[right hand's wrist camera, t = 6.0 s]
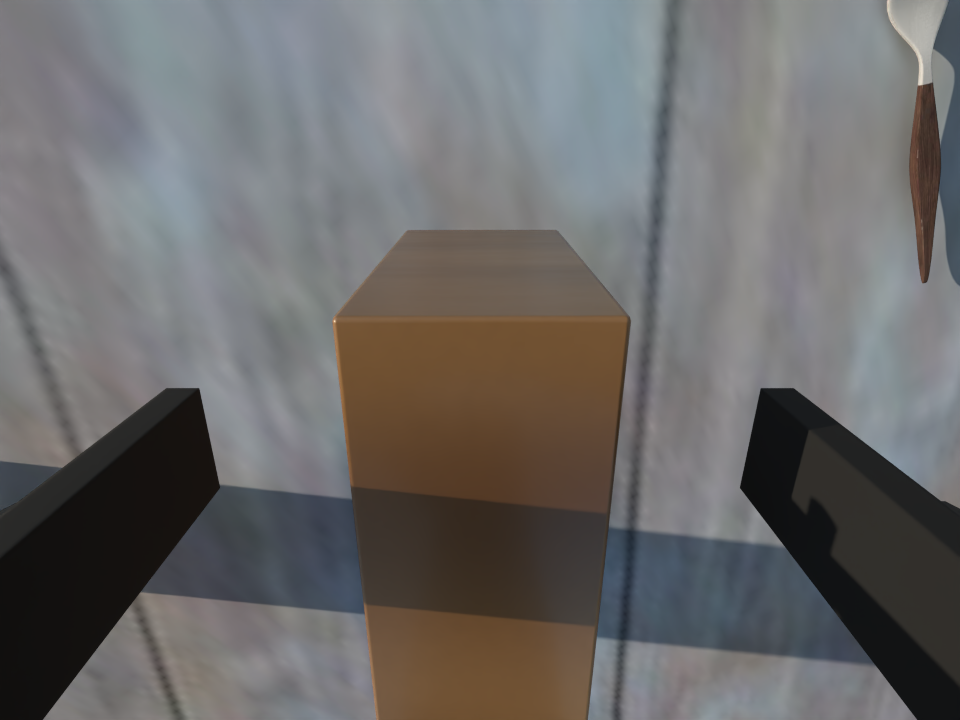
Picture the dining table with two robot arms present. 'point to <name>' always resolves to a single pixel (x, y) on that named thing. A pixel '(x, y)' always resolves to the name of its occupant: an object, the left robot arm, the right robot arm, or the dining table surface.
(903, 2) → the fork
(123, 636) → the dining table surface
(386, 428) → the bar
